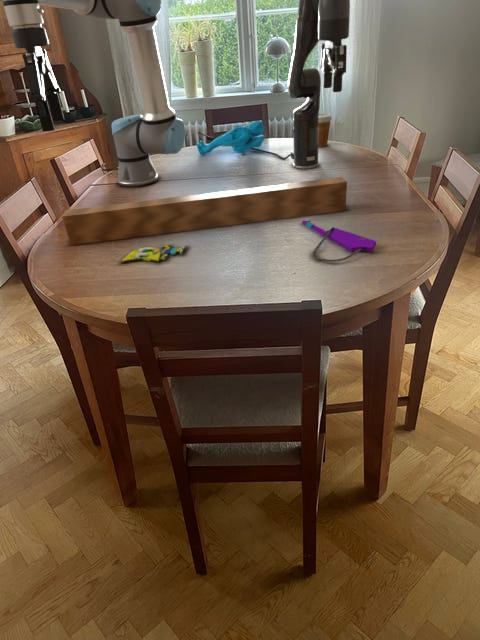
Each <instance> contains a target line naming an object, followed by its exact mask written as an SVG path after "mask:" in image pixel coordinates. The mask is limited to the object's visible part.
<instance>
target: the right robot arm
mask: <svg viewBox="0 0 480 640" xmlns="http://www.w3.org/2000/svg"><path fill="white" fill-rule="evenodd" d="M296 13H297V14H296V22H295V33H294V43H293V53H292V56H291V62H290V68H289V73H288V78H287V79H288V80H287V91H288V95H289V97H290V98H291V99H293V100H300V99H306V101H305V102H304V103H303V104H301V106H299V107H297V108H295V109H294V110H293V112H292V124H293V125H292V128H293V151H290V153H289V154H287V156H285V157H282V156H281V155H280V154H278V153H275V152H271V151H268V150H263V149H259V148H257V147H254V148H251V149H250V150H254V151H258V152H262V153H265V154H268V155H269V154H270V155H273V156H276V157H278V158H279V159H281V160H287V159H288V158H290V159H292V160H293V168H295V169H298V170H299V169H300V170H310V169H315V168H318V167H319V147H318V136H319V114H320V107H321V106H320V105H321V90H322V89H321V88H322V87H323V89H330V88H332V92H333V93H341V92H342V91H343V76H344V74H346V73H347V52H348V51H347V48H348V46H347V45H346V44H343V43H342V41H343V40H346V39H348V38H349V36H350V17H351V0H298V6H297V12H296ZM320 41H324V43H321V44H320V61H319V62H320V65H319V68H320V70H321V72H322V77H321V73H320V71H319V69H318V68H316V67H309V68H305V65H306V62H307V60H308V58H309V56H310V55H311V53H312V52H313V51H314V49H315V48H316V46H317V45H318V43H319V42H320ZM321 78H322V79H321ZM321 81H322V82H321ZM321 86H322V87H321ZM197 135H202V136H204V137H207V138H210V139H212V140H214V139H216V138H217V137H213V136H210V135H208V134H205V133H203V132H201V131H198V132H197Z"/></svg>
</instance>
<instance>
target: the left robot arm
mask: <svg viewBox="0 0 480 640" xmlns="http://www.w3.org/2000/svg"><path fill="white" fill-rule="evenodd" d="M1 2H2V4H3V5H2V6H3V9H4V12H5V16H6V19H7V23H8V26H9V27H10V28H12V30H11V32H10V33H11V36H12V40H13V43H14V46H15V48H16V49H25V53H21V54H22V59H23V64H24V68H25V73H26V79H27V85H28V90H29V96H30V97H29V101H30V103H34V104H35V109H36V112H37V116H38V118H39V122H40V126H41V130H42V132H44V133H45V132H52V131H56V127H55V124H54V122H60V121H61V122H62V121H65V119H66V118H65V116H64V112H63V107H62V104H61V101H60V97H59V93H61V89H60V87H59V85H58V83H57V80H56V77H55V75H54V72H53V69H52V66H51V64H50V61H49V58H48V55H47V54H48V53H47V51H46V49H44V48H42V47H46V46H47V47H48V46H49V45H50V42H49V41H50V40H49V38H48V33H47V30H46V28H45V27H44V26H42V25H44V24H45V23H44V18H43V14H44V9H43V7H51V8H58V9H66V10H72V11H73V12H74V13H76V14H78V15H81V16H87V17H93V18H97V19H98V18H99V19H104V20H118V22H119V26H120V28H121V29H122V30H124V31H125V32H126V36H127V40H128V43H129V48H130V52H131V57H132V61H133V65H134V69H135V74H136V79H137V83H138V87H139V91H140V95H141V99H142V104H143V109H144V113H143V114H140V113H138V114H133V115H128V116H124V117H121V118H118V119H115V120H113V121H112V122H111V132H112V133H111V135H112V138H113V142H114V146H115V151H116V156H117V160H118V167H112V168H104V167H107V163H106V162H103V163H102V164H101V166H100V167H101V168H100V169H101V170H102V171H104V172H112V171H117V183H118V186H120V187H123V188H124V187H125V188H136V187H137V188H138V187H145V186H147V185H148V186H149V185H151V184H154V183H156V182H157V181H158V180H159V176H158V172H157V169H156V168H155V166H154V163H153V161H152V159H151V156H150V155H175V154H178V153H179V152H181V150H182V149H183V147H184V144H185V140H186V139H185V138H186V128H185V127H186V126H185V123H184V122H183V120H182V119H181V118H177V115H176V111H175V109H173V108H172V107H171V106H170V102H169V97H168V91H167V87H166V82H165V77H164V71H163V67H162V66H163V65H162V62H161V57H160V52H159V51H160V50H159V47H158V42H157V36H156V32H155V26H156V25H157V23H158V17H157V16H158V15H159V14H160V12H161V10H162V5H161V4H162V0H0V3H1ZM40 6H43V7H42V8H40ZM45 92H46V93H45ZM46 98H47V100H46Z"/></svg>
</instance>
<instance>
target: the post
mask: <svg viewBox="0 0 480 640" xmlns="http://www.w3.org/2000/svg"><path fill="white" fill-rule="evenodd" d="M347 193H348V181H347V180H346V179H345V178H343V177H342V176H338V177H331V178H322V179H314V180H306V181H305V180H304V181H298V182H297V181H296V182H288V183H280V184H273V185H264V186H256V187H248V188H239V189H232V190H224V191H223V190H221V191H215V192H206V193H197V194H189V195H181V196H172V197H165V198H157V199H150V200H148V199H147V200H140V201H133V202H124V203H123V202H122V203H114V204H106V205H99V206H90V207H82V208H74V209H65V211H64V212H63V214H62V220H63V223H64V228H65V231H66V234H67V237H68V241H69V244H70V246H76V245H84V244H92V243H99V242H107V241H108V242H109V241H116V240H125V239H130V238H131V239H132V238H139V237H148V236H154V235H155V236H156V235H164V234H171V233H179V232H186V231H195V230H204V229H210V228H219V227H227V226H234V225H241V224H251V223H258V222H266V221H273V220H283V219H291V218H297V217H306V216H313V215H320V214H321V215H323V214H330V213H337V212H346V211H347V196H348V194H347Z"/></svg>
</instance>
